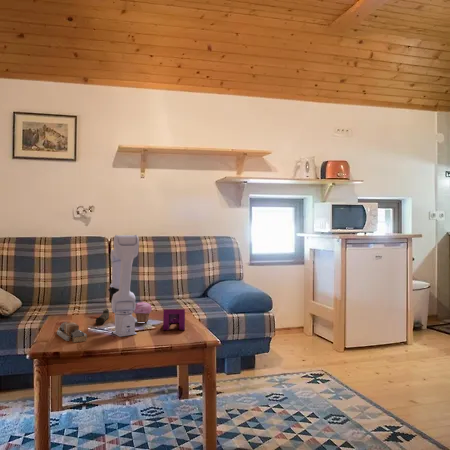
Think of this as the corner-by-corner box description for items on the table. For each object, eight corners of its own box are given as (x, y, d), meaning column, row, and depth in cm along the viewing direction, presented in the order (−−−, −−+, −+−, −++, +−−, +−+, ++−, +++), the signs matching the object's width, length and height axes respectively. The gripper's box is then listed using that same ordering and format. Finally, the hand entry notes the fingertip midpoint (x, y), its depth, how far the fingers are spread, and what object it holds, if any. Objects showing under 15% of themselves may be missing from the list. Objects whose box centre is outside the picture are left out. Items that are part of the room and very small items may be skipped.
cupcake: (133, 321, 224) (133, 300, 224) (151, 320, 226) (151, 300, 226) (133, 325, 215) (133, 303, 215) (152, 324, 217) (152, 303, 217)
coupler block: (73, 333, 199) (73, 321, 199) (78, 337, 192) (78, 325, 192) (64, 334, 196) (64, 323, 196) (68, 338, 190) (69, 326, 190)
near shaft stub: (86, 340, 186) (86, 331, 186) (73, 342, 183) (73, 332, 183) (81, 337, 191) (81, 328, 191) (69, 339, 188) (69, 329, 188)
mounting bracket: (165, 337, 217) (163, 328, 201) (165, 319, 220) (163, 309, 204) (185, 336, 217) (184, 327, 201) (185, 319, 221) (184, 309, 205)
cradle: (86, 338, 191) (86, 334, 191) (66, 341, 186) (66, 337, 186) (76, 331, 202) (76, 328, 202) (57, 334, 197) (57, 330, 197)
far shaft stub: (73, 332, 200) (73, 323, 200) (62, 334, 197) (62, 325, 197) (69, 330, 205) (69, 321, 205) (58, 331, 202) (58, 322, 202)
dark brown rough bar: (103, 325, 215) (103, 315, 215) (95, 325, 215) (95, 315, 215) (113, 317, 234) (113, 308, 234) (105, 317, 234) (105, 308, 234)
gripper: (104, 274, 218) (104, 303, 218) (115, 277, 206) (115, 307, 206) (118, 273, 222) (118, 301, 222) (130, 276, 210) (130, 306, 210)
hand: (118, 304), depth 214 cm, fingers open, 7 cm apart
